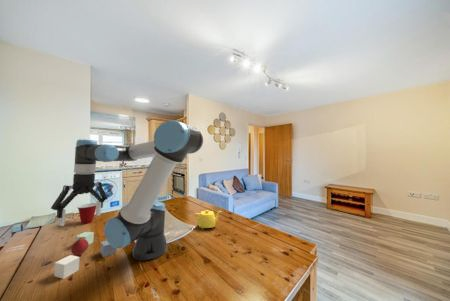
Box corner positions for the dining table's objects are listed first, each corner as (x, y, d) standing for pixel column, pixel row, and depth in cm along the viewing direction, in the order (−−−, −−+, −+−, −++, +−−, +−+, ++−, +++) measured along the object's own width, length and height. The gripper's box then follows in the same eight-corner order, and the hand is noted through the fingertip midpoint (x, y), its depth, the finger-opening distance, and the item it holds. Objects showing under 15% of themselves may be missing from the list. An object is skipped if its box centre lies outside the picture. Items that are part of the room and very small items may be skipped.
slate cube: (116, 252, 77) (116, 241, 77) (103, 257, 73) (103, 246, 73) (112, 248, 80) (113, 238, 80) (100, 253, 76) (100, 242, 77)
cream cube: (78, 270, 65) (79, 257, 65) (63, 279, 60) (64, 265, 60) (69, 267, 66) (70, 254, 66) (53, 276, 61) (54, 262, 62)
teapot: (220, 223, 115) (221, 207, 115) (221, 230, 104) (222, 213, 104) (194, 223, 113) (195, 207, 114) (193, 230, 102) (193, 213, 103)
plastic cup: (86, 219, 115) (88, 201, 116) (100, 220, 114) (102, 202, 115) (70, 225, 105) (72, 206, 105) (86, 226, 103) (87, 207, 104)
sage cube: (93, 242, 86) (93, 232, 86) (85, 247, 81) (85, 236, 81) (83, 241, 86) (84, 232, 86) (75, 247, 81) (75, 236, 81)
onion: (77, 260, 71) (78, 241, 71) (67, 258, 72) (68, 239, 72) (91, 252, 76) (92, 235, 77) (81, 250, 78) (82, 233, 78)
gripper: (108, 170, 89) (105, 210, 88) (42, 174, 66) (38, 228, 65) (117, 172, 85) (114, 213, 85) (51, 176, 63) (46, 232, 62)
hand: (81, 219), depth 75 cm, fingers open, 13 cm apart
